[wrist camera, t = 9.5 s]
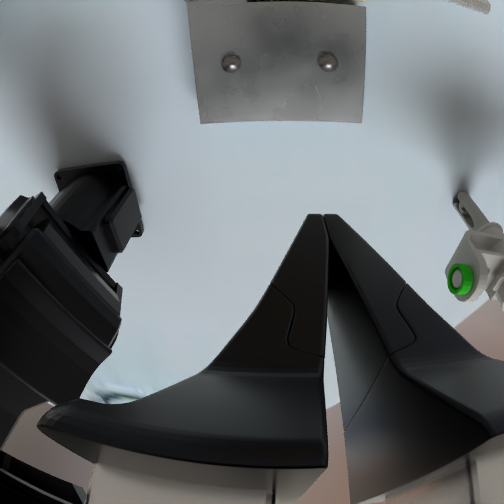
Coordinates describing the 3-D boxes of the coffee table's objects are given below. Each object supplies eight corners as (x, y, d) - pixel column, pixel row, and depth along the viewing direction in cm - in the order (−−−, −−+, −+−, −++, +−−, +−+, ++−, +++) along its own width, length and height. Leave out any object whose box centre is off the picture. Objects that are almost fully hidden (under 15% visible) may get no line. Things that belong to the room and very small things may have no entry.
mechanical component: (413, 169, 20) (476, 271, 12) (510, 197, 20) (573, 283, 12) (400, 205, 22) (448, 312, 14) (496, 225, 22) (550, 314, 14)
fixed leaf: (187, 115, 19) (171, 135, 16) (170, -37, 12) (148, -46, 9) (457, 125, 17) (482, 146, 15) (468, -15, 11) (499, -15, 8)
